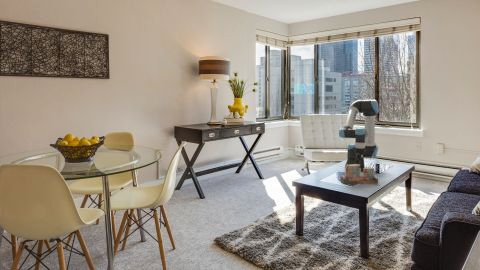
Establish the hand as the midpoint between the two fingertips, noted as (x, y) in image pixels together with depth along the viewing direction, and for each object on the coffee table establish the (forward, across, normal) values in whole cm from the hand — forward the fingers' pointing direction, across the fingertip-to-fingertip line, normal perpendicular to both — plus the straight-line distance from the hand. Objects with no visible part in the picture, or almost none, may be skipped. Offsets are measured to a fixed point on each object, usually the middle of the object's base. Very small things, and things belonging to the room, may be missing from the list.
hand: (359, 174), depth 270 cm
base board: (+6, 0, 0) cm, 6 cm away
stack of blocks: (+5, 0, 0) cm, 5 cm away
